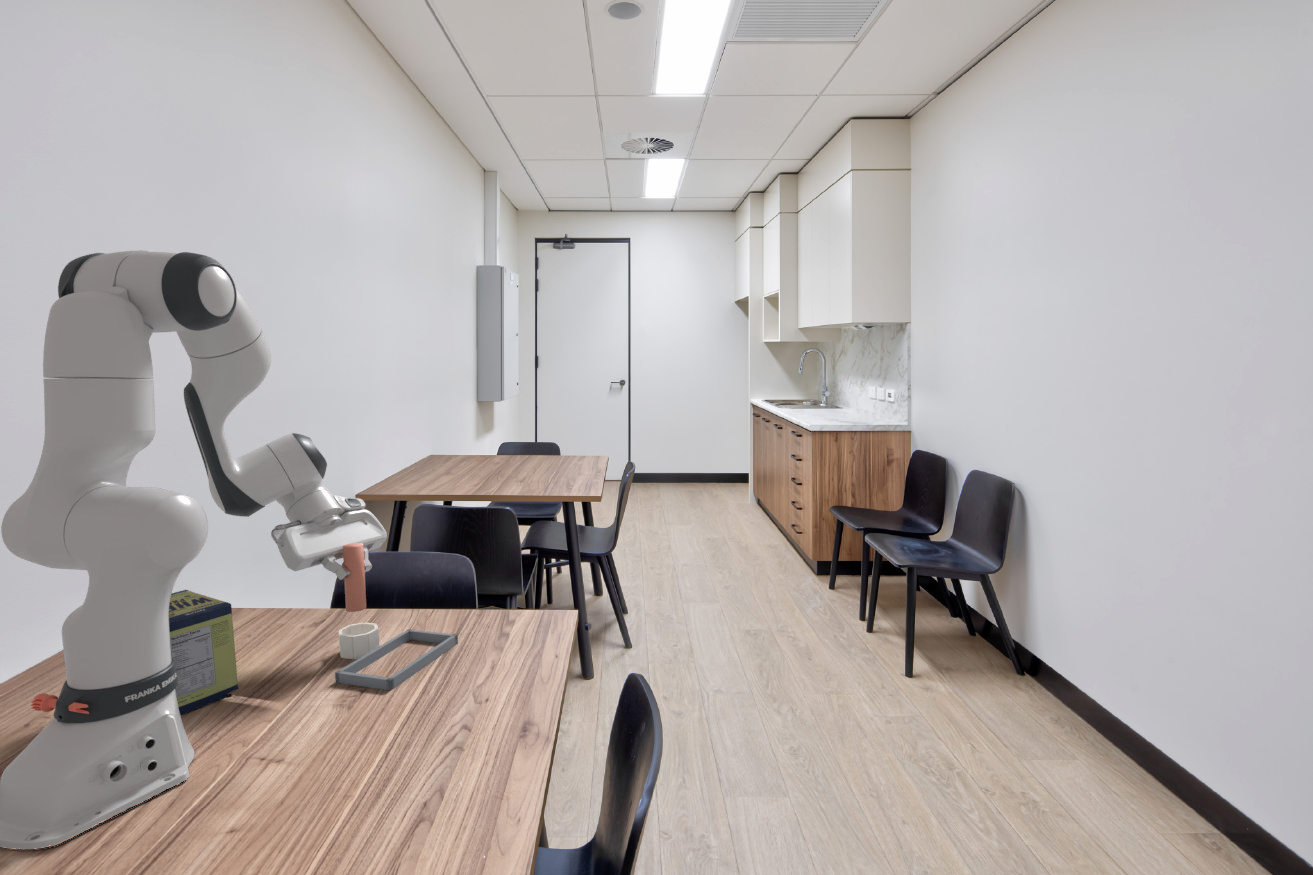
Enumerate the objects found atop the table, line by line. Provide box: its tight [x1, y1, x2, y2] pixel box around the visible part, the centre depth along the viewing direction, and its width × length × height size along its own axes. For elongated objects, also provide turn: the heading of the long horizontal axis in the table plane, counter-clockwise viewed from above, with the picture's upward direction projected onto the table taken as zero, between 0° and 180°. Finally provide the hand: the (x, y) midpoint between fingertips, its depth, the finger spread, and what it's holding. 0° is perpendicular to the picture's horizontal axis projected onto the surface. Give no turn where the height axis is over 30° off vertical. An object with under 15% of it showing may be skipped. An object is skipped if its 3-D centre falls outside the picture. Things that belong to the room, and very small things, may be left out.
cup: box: [338, 622, 380, 660], centre depth 130 cm, size 7×7×5 cm
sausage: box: [342, 543, 367, 613], centre depth 129 cm, size 4×4×12 cm
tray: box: [334, 628, 459, 691], centre depth 126 cm, size 20×11×2 cm, turn 164°
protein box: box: [169, 589, 239, 716], centre depth 115 cm, size 10×16×16 cm
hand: (356, 573), depth 128 cm, fingers closed on sausage, 3 cm apart
